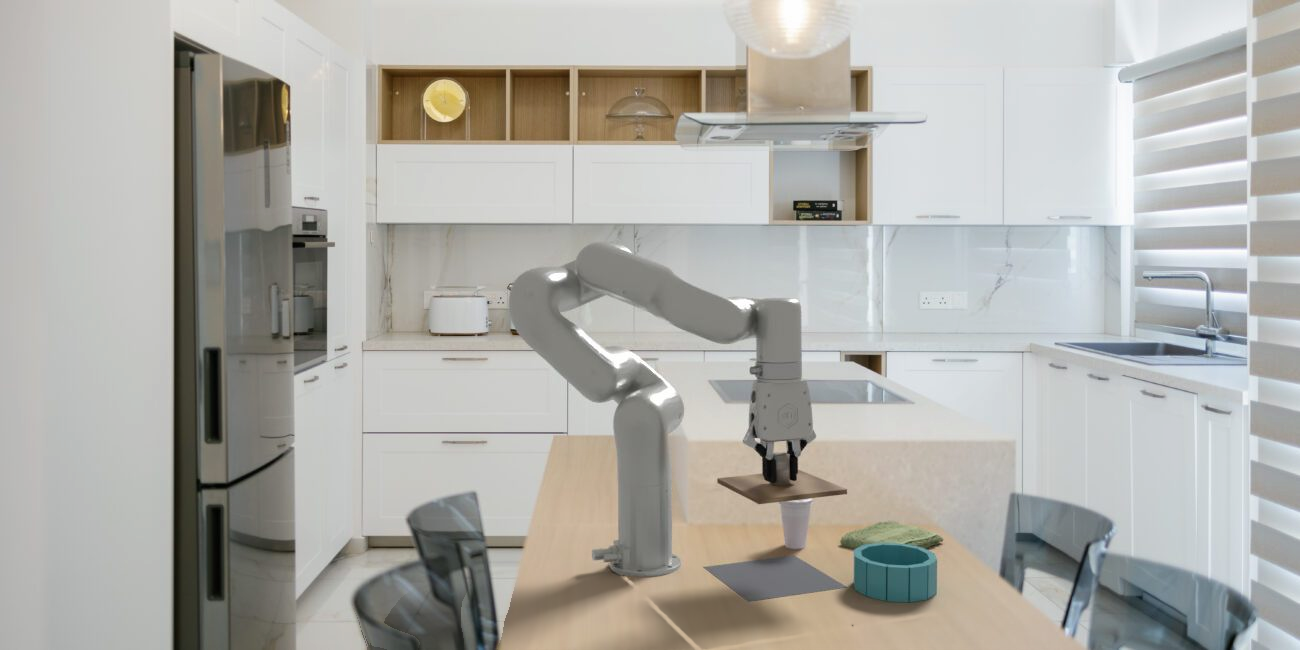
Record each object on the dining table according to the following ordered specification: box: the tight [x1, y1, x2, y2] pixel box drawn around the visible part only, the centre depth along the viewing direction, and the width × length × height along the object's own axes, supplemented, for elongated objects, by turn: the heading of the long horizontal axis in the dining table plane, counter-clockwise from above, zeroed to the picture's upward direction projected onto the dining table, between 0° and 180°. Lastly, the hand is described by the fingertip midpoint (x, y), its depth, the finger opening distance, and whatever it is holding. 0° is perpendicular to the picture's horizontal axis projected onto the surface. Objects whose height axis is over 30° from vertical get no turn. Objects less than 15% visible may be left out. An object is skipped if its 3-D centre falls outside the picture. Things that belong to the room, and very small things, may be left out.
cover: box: [716, 451, 848, 505], centre depth 159 cm, size 16×16×6 cm
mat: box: [703, 554, 848, 603], centre depth 161 cm, size 18×18×1 cm
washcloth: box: [839, 520, 945, 550], centre depth 180 cm, size 13×18×3 cm
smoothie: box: [777, 498, 814, 550], centre depth 177 cm, size 6×6×14 cm
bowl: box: [852, 543, 938, 603], centre depth 155 cm, size 13×13×6 cm
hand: (780, 479), depth 159 cm, fingers closed on cover, 3 cm apart
